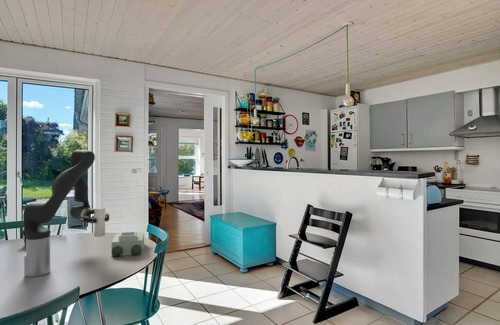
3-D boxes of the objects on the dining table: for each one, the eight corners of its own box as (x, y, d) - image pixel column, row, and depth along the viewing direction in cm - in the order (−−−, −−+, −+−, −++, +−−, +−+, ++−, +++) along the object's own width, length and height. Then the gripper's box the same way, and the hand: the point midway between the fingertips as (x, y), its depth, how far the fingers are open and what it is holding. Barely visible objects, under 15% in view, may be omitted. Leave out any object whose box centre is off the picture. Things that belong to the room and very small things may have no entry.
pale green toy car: (111, 257, 162) (111, 237, 162) (117, 245, 183) (117, 228, 182) (141, 255, 167) (141, 235, 166) (144, 244, 187) (144, 226, 187)
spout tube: (93, 237, 149) (93, 209, 149) (95, 234, 154) (95, 207, 154) (103, 236, 151) (104, 209, 151) (105, 234, 156) (106, 207, 155)
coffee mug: (37, 246, 179) (37, 230, 179) (20, 247, 176) (20, 231, 176) (43, 241, 190) (42, 225, 190) (26, 242, 187) (26, 226, 187)
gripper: (75, 209, 157) (86, 214, 145) (104, 207, 167) (116, 211, 156) (75, 223, 157) (86, 229, 145) (103, 220, 168) (115, 225, 156)
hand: (101, 220), depth 151 cm, fingers closed on spout tube, 5 cm apart
